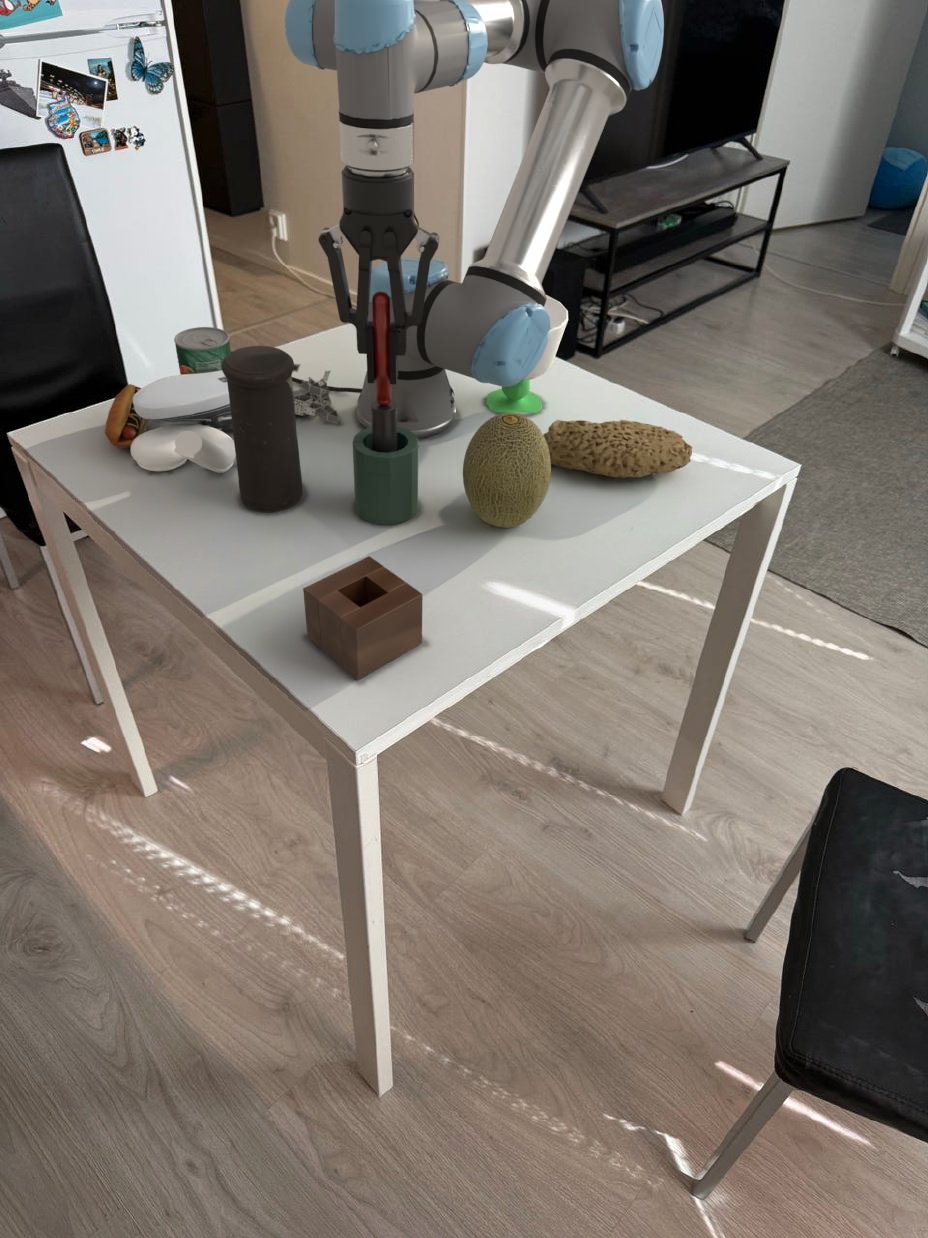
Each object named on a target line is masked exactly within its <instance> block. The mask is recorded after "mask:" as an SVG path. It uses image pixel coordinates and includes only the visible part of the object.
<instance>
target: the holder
mask: <svg viewBox="0 0 928 1238" xmlns="http://www.w3.org/2000/svg"><path fill="white" fill-rule="evenodd" d="M302 592H303V602H304V610H305V611H304V615H305V623H306V634H307V639H308V640H310V641H311V642H312V643H313V644H315V646H316V647H318V648H319V649H321V650H322V651H323V652H324V653H325V654H327V655H328V656H329V657H330V658H331V659H332V660H334V661H335V662H336V663H337V664H339V666H341V667H342V668H343V669H344V670H345V671H347V672H348V673H349V674H350V675H351V676H353V678H355V679H356V680H357V681H359V680H361V679H363V678H364V677H367V676H368V675H369V674H371V673H374V672H375V671H377V670H378V669H380V668H382V667H384V666H385V665H386V664H389V663H391V662H393V661H394V660H395V659H397V658H399V657H400V656H402V655H404V654H406V653H408V652H409V651H411V650H413V649H414V648H416V647H418V646H419V645H421V644H423V602H424V601H423V600H424V599H423V593H422V592H420V591H419V590H418V589H416V588H415V587H414V586H413V585H411V584H409V583H408V582H406V581H405V580H403V579H402V578H400V577H399V576H397V574H395V573H394V572H392V571H391V570H390V569H388V568H387V567H385V566H384V565H383V564H382V563H380V562H378V561H377V560H376V559H374V558H373V557H371V556H370V555H369V556H366V557H364V558H361V559H360V560H358V561H356V562H354V563H352V564H350V565H348V566H346V567H344V568H342V569H340V570H338V571H336V572H333V573H331V574H330V575H328V576H326V577H323V578H321V579H319V580H317V581H315V582H313V583H312V584H309V585H307V586H305V587H303V588H302Z"/></svg>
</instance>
